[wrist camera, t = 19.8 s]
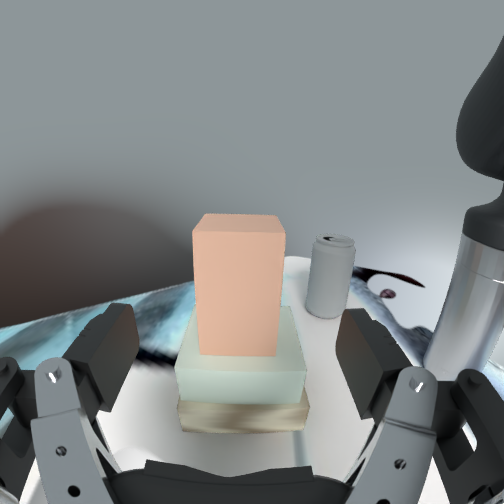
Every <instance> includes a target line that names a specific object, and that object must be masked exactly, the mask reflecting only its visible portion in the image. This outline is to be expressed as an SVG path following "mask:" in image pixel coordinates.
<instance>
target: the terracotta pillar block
mask: <svg viewBox="0 0 504 504" xmlns="http://www.w3.org/2000/svg"><path fill="white" fill-rule="evenodd" d="M285 239H286V232H285V231H284V229H283V227H282V225H281V223H280V222H279V220H278V218H277V216H276V215H249V214H245V215H244V214H205V215H204V216H203V218H202V219H201V220H200V222H199V223H198V224H197V226H196V227H195V228H194V230H193V260H194V280H195V297H196V312H197V325H198V337H199V348H200V354H202V355H223V356H276V347H277V337H278V326H279V315H280V304H281V292H282V280H283V267H284V253H285Z"/></svg>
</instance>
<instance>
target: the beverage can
mask: <svg viewBox="0 0 504 504" xmlns="http://www.w3.org/2000/svg"><path fill="white" fill-rule="evenodd" d="M355 252H356V250H355V247H354V240H353V239H351V238H349V237H346V236H342V235H336V234H320V235H317V236H316V242H314V244H313V249H312V258H311V267H310V275H309V283H308V291H307V298H306V308H307V310H308V311H309V312H310V313H311V314H313V315H314V316H316V317H319V318H323V319H333V318H336V317H338V316H340V315H342V313H343V311H344V310H345V307H346V302H347V297H348V292H349V287H350V281H351V276H352V270H353V264H354V258H355Z"/></svg>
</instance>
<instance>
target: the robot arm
mask: <svg viewBox="0 0 504 504" xmlns="http://www.w3.org/2000/svg"><path fill="white" fill-rule="evenodd" d="M456 142H457V148H458V151H459V154H460V156H461V158H462V160H463V161H464V162H465V164H466V165H467V166H468V167H470V168H471V169H473V170H474V171H476V172H478V173H481V174H483V175H485V176H488V177H492V178H495V179H499V180H502V181H504V36H503V38H502V40H501V42H500V44H499V46H498V48H497V50H496V52H495V54H494V56H493V58H492V59H491V61H490V62H489V64H488V66H487V67H486V68H485V70H484V71H483V73H482V74H481V76H480V77H479V79H478V80H477V82H476V83H475V85H474V86H473V88H472V89H471V91H470V92H469V94H468V96H467V98H466V100H465V101H464V104H463V106H462V109H461V111H460V115H459V118H458V122H457V129H456ZM462 231H463V232H462V236H461V241H460V246H459V250H458V255H457V259H456V264H455V268H454V272H453V275H452V279H451V283H450V286H449V290H448V293H447V296H446V299H445V302H444V305H443V308H442V311H441V314H440V317H439V320H438V322H437V325H436V328H435V330H434V333H433V335H432V338H431V340H430V343H429V345H428V348H427V350H426V352H425V355H424V358H423V365H424V368H422V367H416V366H413V365H412V364H411V362H410V361H409V359H408V358H407V357H406V355H405V354H404V352H403V351H402V349H401V348H400V346H399V345H398V344H396V341H395V339H394V338H393V337H392V335H391V334H390V332H389V331H388V329H387V328H386V327H385V326H384V325H382V324H381V323H379V322H378V321H376V320H372V319H371V317H370V316H369V314H368V313H367V312H366V310H365V309H364V308H359V309H345V310H344V311H343V313H342V318H341V322H340V327H339V331H338V336H337V340H336V356H337V359H338V361H339V364H340V366H341V369H342V371H343V374H344V376H345V379H346V381H347V384H348V386H349V389H350V392H351V394H352V397H353V399H354V402H355V404H356V407H357V410H358V412H359V415H360V418H361V420H363V419H368V418H373V419H374V422H375V423H374V425H373V426H372V428H371V431H370V433H369V435H368V437H367V439H366V441H365V443H364V445H363V447H362V450H361V452H360V454H359V455H358V457H357V459H356V461H355V463H354V465H353V467H352V468H351V470H350V472H349V473H348V475H347V476H346V478H345V479H344V481H343V482H341V481H339V480H336V479H332V478H329V477H324V476H319V475H313V472H312V467H311V466H303V467H292V468H278V469H268V470H264V471H260V472H255V473H251V474H246V475H241V476H235V477H222V476H218V475H214V474H211V473H207V472H204V471H201V470H197V469H194V468H191V467H188V466H185V465H177V464H170V463H164V462H158V461H153V460H146V463H145V467H144V469H134V470H128V471H123V472H122V471H121V469H120V467H119V466H118V464H117V463H116V461H115V459H114V457H113V455H112V452H111V450H110V448H109V445H108V443H107V441H106V438H105V436H104V433H103V431H102V428H101V426H100V423H99V420H98V418H97V416H96V415H97V413H98V411H99V410H102V411H106V412H111V410H112V408H113V405H114V403H115V401H116V399H117V396H118V394H119V392H120V390H121V387H122V385H123V383H124V381H125V378H126V376H127V374H128V372H129V370H130V368H131V366H132V363H133V361H134V359H135V357H136V355H137V353H138V350H139V335H138V331H137V326H136V322H135V317H134V312H133V308H132V306H131V305H130V304H122V303H111V304H110V305H109V307H108V308H107V309H106V310H105V312H104V313H103V314H99V315H98V316H96V317H95V318H93V319H91V320H90V321H89V323H88V324H87V325H86V326H85V328H84V330H82V331H81V333H80V334H79V336H77V338H76V339H75V340H74V342H73V343H72V344H71V346H70V347H69V348H68V349H67V351H66V352H65V353H64V355H63V356H62V358H58V357H56V358H50V359H47V360H45V361H43V362H42V363H41V364H39V365H38V367H37V368H36V370H21V369H20V367H19V365H18V363H17V361H16V360H15V359H14V358H12V357H3V358H0V420H1V418H2V416H3V415H4V413H5V411H6V410H7V408H9V409H10V411H11V412H12V413H13V415H14V417H13V419H12V421H11V423H10V425H9V426H8V428H7V430H6V432H5V434H4V436H3V438H2V440H1V438H0V504H19V501H20V498H21V495H22V492H23V489H24V486H25V483H26V480H27V478H28V475H29V472H30V470H31V467H32V464H33V462H34V459H35V457H36V460H37V464H38V469H39V473H40V477H41V481H42V484H43V488H44V491H45V494H46V498H47V501H48V504H418V501H419V498H420V495H421V492H422V489H423V486H424V483H425V480H426V477H427V473H428V470H429V466H430V463H431V459H432V456H433V458H434V461H435V463H436V466H437V468H438V471H439V474H440V476H441V479H442V482H443V485H444V487H445V490H446V493H447V496H448V499H449V502H450V504H504V401H503V400H502V398H501V397H500V395H499V394H498V393H497V391H496V390H495V388H494V387H493V386H492V384H491V383H490V382H489V380H488V379H487V377H486V376H485V375H484V374H483V373H481V372H482V370H483V369H484V367H485V365H486V363H487V361H488V359H489V358H490V356H491V353H492V352H493V350H494V348H495V345H496V343H497V341H498V339H499V337H500V334H501V332H502V330H503V328H504V184H503V189H502V193H501V195H500V196H499V197H498V198H497V199H496V200H494V201H493V202H491V203H488V204H485V205H480V206H475V207H471V208H469V209H468V210H467V212H466V214H465V218H464V224H463V230H462ZM466 422H467V423H468V424H469V426H470V428H471V430H472V432H473V434H474V435H475V437H476V440H477V447H476V450H475V452H474V451H473V449H472V447H471V445H470V443H469V441H468V439H467V437H466V435H465V433H464V431H463V429H462V427H463V426H464V425H465V423H466Z"/></svg>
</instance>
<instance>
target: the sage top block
mask: <svg viewBox="0 0 504 504" xmlns="http://www.w3.org/2000/svg"><path fill="white" fill-rule="evenodd" d="M174 368H175V374H176V379H177V384H178V389H179V394H180V398H181V400H183V401H193V402H205V403H220V404H295V403H300V399H301V395H302V391H303V386H304V382H305V377H306V372H307V370H306V366H305V362H304V358H303V354H302V350H301V346H300V342H299V339H298V335H297V331H296V327H295V324H294V320H293V316H292V312H291V309H290V306H280V315H279V326H278V337H277V347H276V356H223V355H202V354H200V348H199V337H198V325H197V312H196V304H195V305H194V308H193V311H192V314H191V317H190V320H189V323H188V326H187V329H186V332H185V335H184V338H183V342H182V345H181V348H180V351H179V354H178V357H177V361H176V364H175V367H174Z"/></svg>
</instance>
